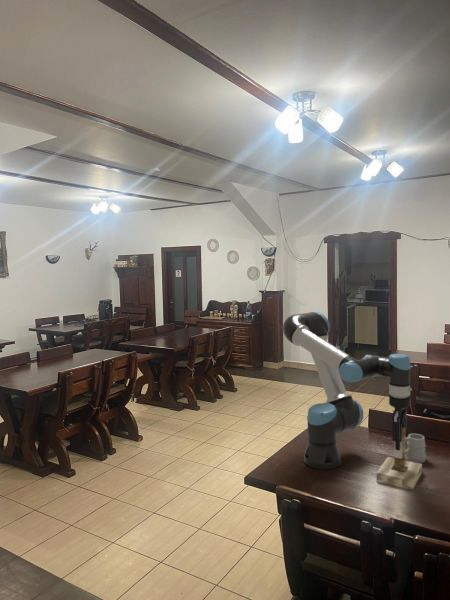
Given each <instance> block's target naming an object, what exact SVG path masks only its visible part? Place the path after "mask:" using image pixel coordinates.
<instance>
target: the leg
mask: <svg viewBox="0 0 450 600" xmlns="http://www.w3.org/2000/svg"><path fill="white" fill-rule="evenodd" d="M406 434H407V432H405V428H404V427H402V437H401V440H402V459H401V458H396V457H394V456H393V458H394V464H395V465H397V466H405V465H406V461H407V460H406V458H407V456H406V450H407V449H406V447H407V446H406V444H407V441H406Z"/></svg>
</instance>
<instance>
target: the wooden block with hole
mask: <svg viewBox="0 0 450 600" xmlns="http://www.w3.org/2000/svg"><path fill="white" fill-rule="evenodd" d="M422 474H423V463H415V462H411V461H409V460H406V465H405V466H397V465H395V464H394V457H391V456H387V457H386V459H385V460H384V462H382V464H381V466H380V467H379V469H378V470H377V472H376V482H377V483H380V484H386V485H390V486H393V487H396V488H400V489H401V488H402V489H406V490H410V491H414V489H415V488H416V485H417V483H418V481H419V480H420V477H421V476H422Z"/></svg>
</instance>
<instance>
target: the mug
mask: <svg viewBox="0 0 450 600" xmlns="http://www.w3.org/2000/svg"><path fill="white" fill-rule="evenodd" d="M425 438H426V437H425V436H424V435H422V434H421V433H420V434H419V433H409V434H407V437H406V444H407V449H406V458H407V461H410V462H415V463H420V464H423V463H425V462H426V459H427V454H426V446H427V445H426V439H425Z"/></svg>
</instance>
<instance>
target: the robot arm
mask: <svg viewBox="0 0 450 600" xmlns="http://www.w3.org/2000/svg"><path fill="white" fill-rule="evenodd" d="M283 322H284V323H283V325H282V332H283V335H284V337H285V338H286V339H287V340H288V341H289V342H290V343H291V344H293V345H295V347H296V346H297V347H299V346H300V347H301V348H303V349H305V350H306V351H308V352H309V353H310V354H311V357H312V359H313V362H314V365H315V368H316V370H317V373H318V376H319V379H320V382H321V385H322V387H323V390H324V392H325V394H326V395H325V396H326V398H327V399H326V401H325V402H322V403H315V404H313V405H311V406H310V407H309V408H308V410H307V418H306V420H307V444H306V449H305V451H304V454H303V462H304V464H305V465H306V466H308V467H311V468H314V469H318V470H331V469H335V468H338V467H340V466H341V465H342V456H341V453H340V450H339V447H338V445H337V435H338V434H340V433H344V432H346V431H349V430H350V431H351V430H354V429H355V428H357V427H359V426H360V425H361V424H362V422H363V420H364V409H363V406H362V404H361V403H360V402H358V400H355V399H354V398H353V396H352V394H350V393H348V392H347V390H346V388H345V385H344V383H343V381H344V382H345V383H357V382H359V381H363V380H366V379H370V378H374V377H382V378H387V379H388V394H389V395H388V404H389V405H390V406H391V407H393V408H394V410H393V412H392V415H393V416H392V417H391V420H392V422H391V423H392V438H391V441H392V442H393V443H394V445H393V446H394V447H393V449H394V450H393V452H394V454H393V455H394V456H393V458H394V457H396V458H401V459H402V440H401V437H402V427H404V428H405V432H406V437H408V434H407V421H408V420H407V418H408V417H407V416H408V415H407V411H408V408H409V407H410V406H411V391H412V390H413V389H412V387H411V369H412V367H411V358H410V356H409V355H407V354H403V353H393V354H390V355H389V356H388V357H384V356H379V355H376V354H365V355H364V357H362V358H360V359H357V358H354V357H353V356H350V355H349V354H348V353H346V352H345V351H343V350H341V349H339V348H338V347H337V346H335V345H333V344H332V343H330V342H328V339H329V332H330V328H331V326H330V325H331V324H330V322H329V319H328V318H327V316H325V314H323V313H322V312H316V311H315V312H314V311H311V312H305V313H304V312H303V313H298V314H291V315H289V316H288V317H287V318H286V319H285V321H283Z"/></svg>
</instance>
